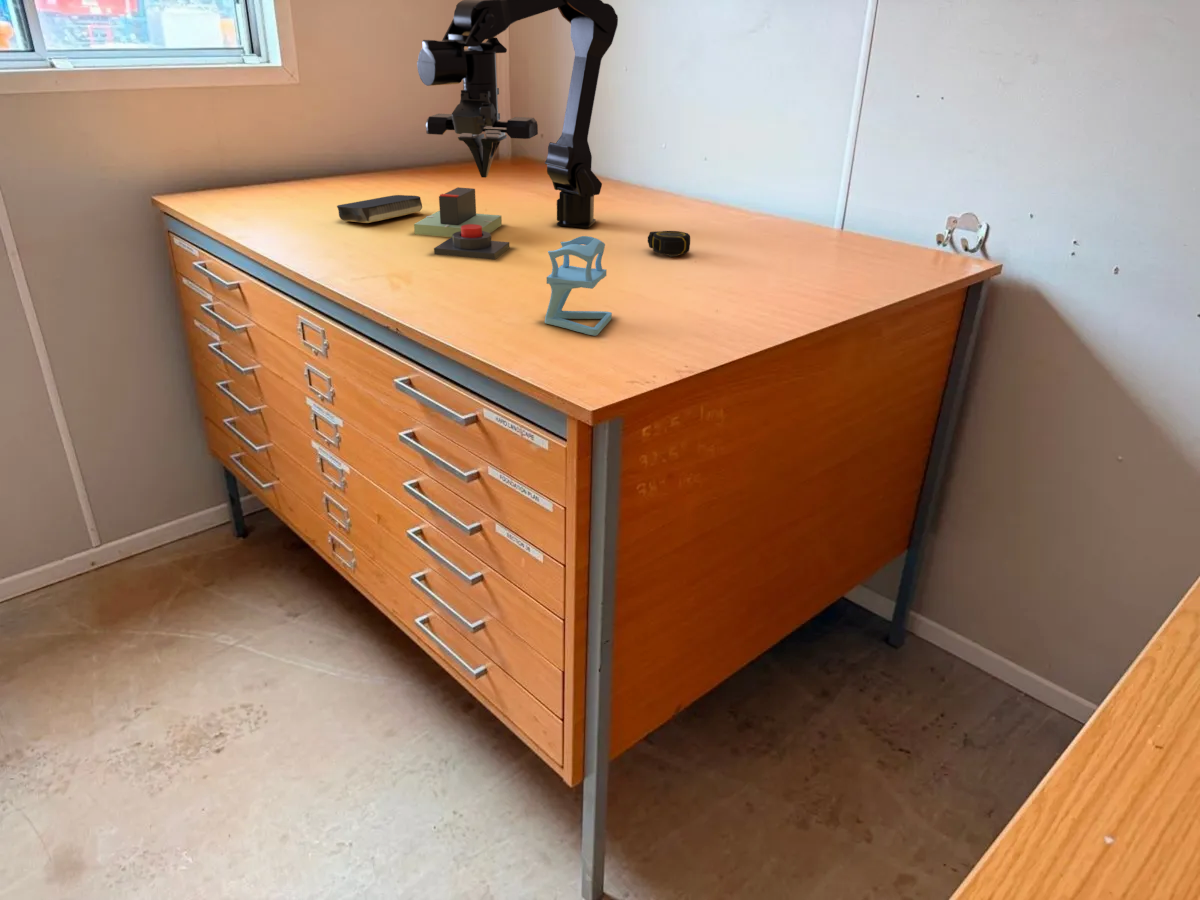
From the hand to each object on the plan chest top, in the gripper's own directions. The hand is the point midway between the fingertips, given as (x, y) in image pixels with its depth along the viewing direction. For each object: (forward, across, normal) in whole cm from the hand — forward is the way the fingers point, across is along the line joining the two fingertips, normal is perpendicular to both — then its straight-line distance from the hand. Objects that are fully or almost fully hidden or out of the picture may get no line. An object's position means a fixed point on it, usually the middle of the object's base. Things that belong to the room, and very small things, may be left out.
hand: (484, 177), depth 155 cm
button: (+8, 0, -9) cm, 12 cm away
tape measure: (+12, +34, 0) cm, 35 cm away
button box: (+11, 0, -9) cm, 14 cm away
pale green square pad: (+11, -7, +5) cm, 14 cm away
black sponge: (+11, -25, +9) cm, 29 cm away
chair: (+11, +27, -40) cm, 50 cm away
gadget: (+9, -7, +5) cm, 13 cm away
